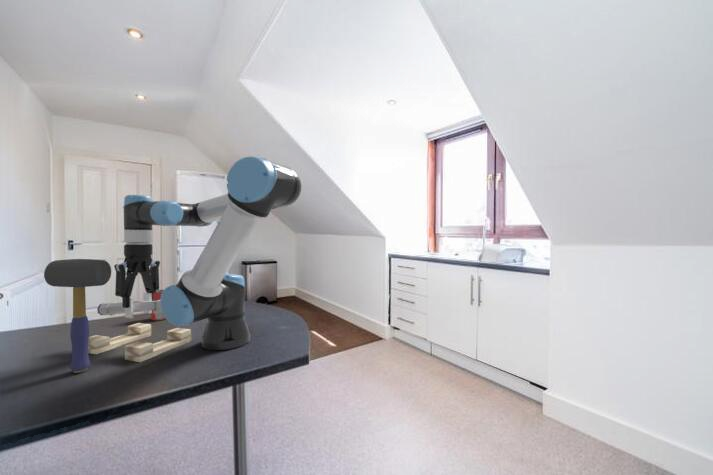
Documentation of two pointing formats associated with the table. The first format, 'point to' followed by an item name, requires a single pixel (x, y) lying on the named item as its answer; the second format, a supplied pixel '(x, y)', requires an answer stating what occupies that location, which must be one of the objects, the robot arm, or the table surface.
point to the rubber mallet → (78, 299)
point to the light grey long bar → (138, 306)
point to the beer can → (156, 297)
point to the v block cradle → (139, 349)
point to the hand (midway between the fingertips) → (138, 314)
